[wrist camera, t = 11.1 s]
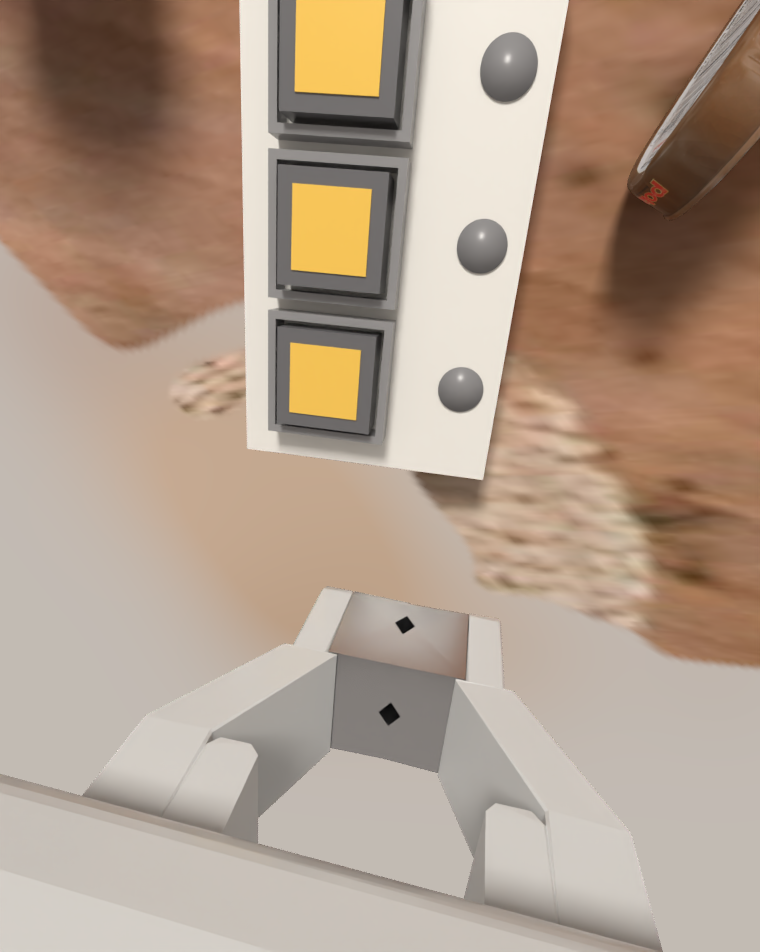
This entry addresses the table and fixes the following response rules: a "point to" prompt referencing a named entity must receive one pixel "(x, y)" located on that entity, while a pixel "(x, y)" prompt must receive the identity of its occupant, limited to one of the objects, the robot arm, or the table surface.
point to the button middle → (333, 228)
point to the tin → (705, 121)
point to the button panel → (409, 228)
